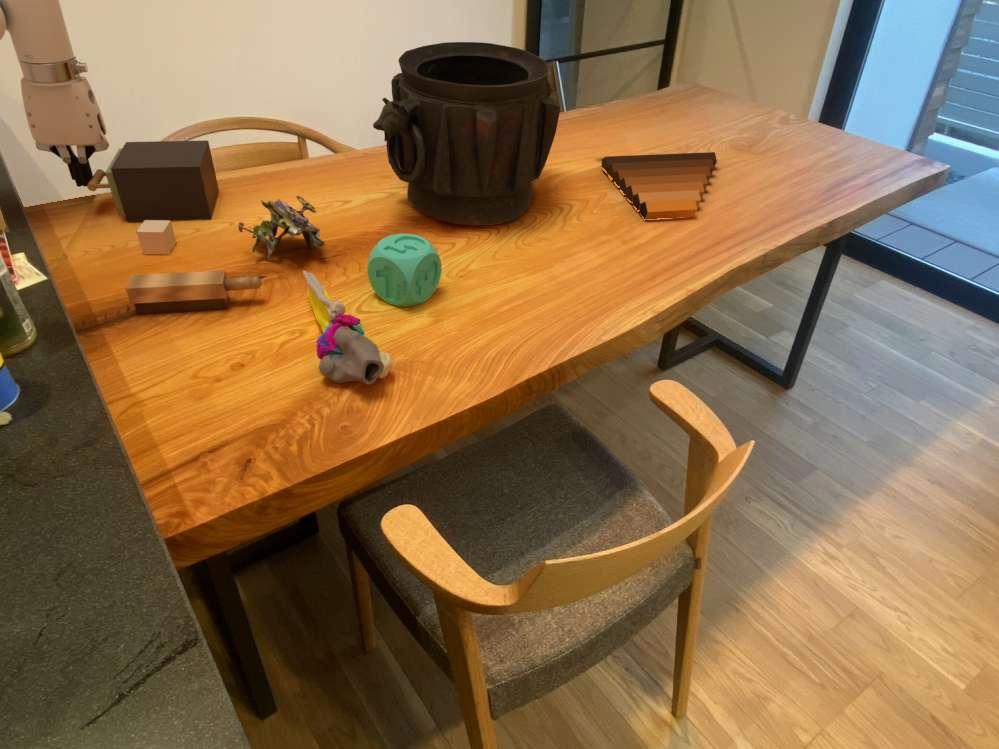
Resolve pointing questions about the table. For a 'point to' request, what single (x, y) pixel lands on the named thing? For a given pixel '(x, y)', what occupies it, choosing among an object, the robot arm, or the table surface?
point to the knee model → (344, 341)
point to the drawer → (111, 184)
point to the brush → (184, 291)
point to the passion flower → (285, 225)
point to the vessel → (469, 129)
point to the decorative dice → (404, 269)
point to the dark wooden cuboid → (166, 180)
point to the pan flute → (662, 181)
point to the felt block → (156, 237)
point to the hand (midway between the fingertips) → (84, 183)
